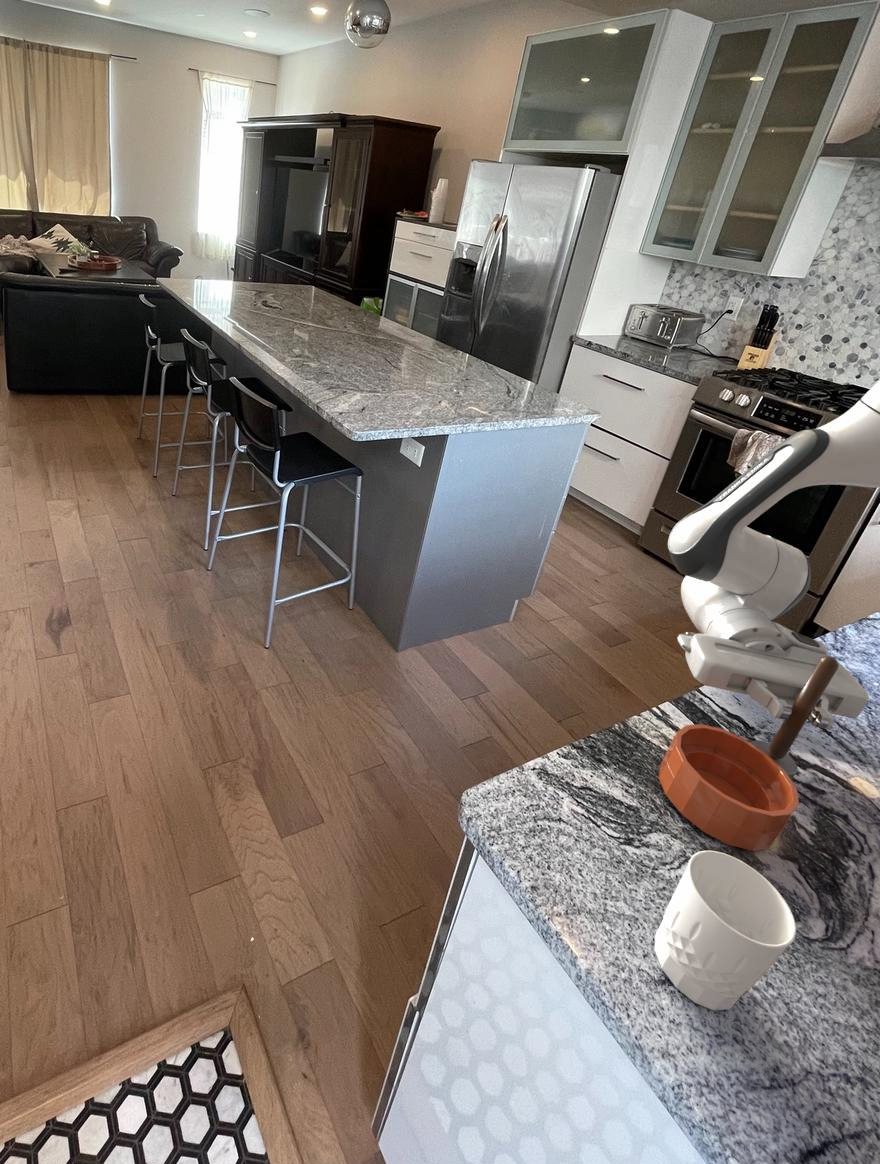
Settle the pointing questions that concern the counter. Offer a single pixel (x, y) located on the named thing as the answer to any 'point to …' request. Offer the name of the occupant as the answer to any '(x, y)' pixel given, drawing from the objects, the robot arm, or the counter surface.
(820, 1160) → the counter surface
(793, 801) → the bowl
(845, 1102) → the counter surface
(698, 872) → the white cup
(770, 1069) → the counter surface
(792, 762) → the wooden peg on disc
